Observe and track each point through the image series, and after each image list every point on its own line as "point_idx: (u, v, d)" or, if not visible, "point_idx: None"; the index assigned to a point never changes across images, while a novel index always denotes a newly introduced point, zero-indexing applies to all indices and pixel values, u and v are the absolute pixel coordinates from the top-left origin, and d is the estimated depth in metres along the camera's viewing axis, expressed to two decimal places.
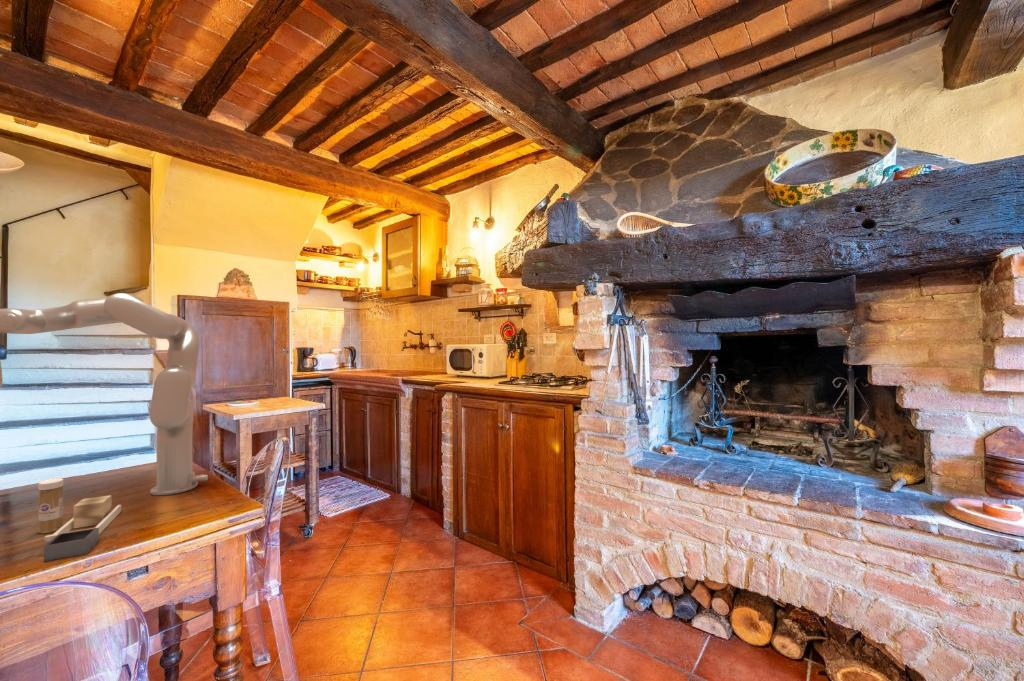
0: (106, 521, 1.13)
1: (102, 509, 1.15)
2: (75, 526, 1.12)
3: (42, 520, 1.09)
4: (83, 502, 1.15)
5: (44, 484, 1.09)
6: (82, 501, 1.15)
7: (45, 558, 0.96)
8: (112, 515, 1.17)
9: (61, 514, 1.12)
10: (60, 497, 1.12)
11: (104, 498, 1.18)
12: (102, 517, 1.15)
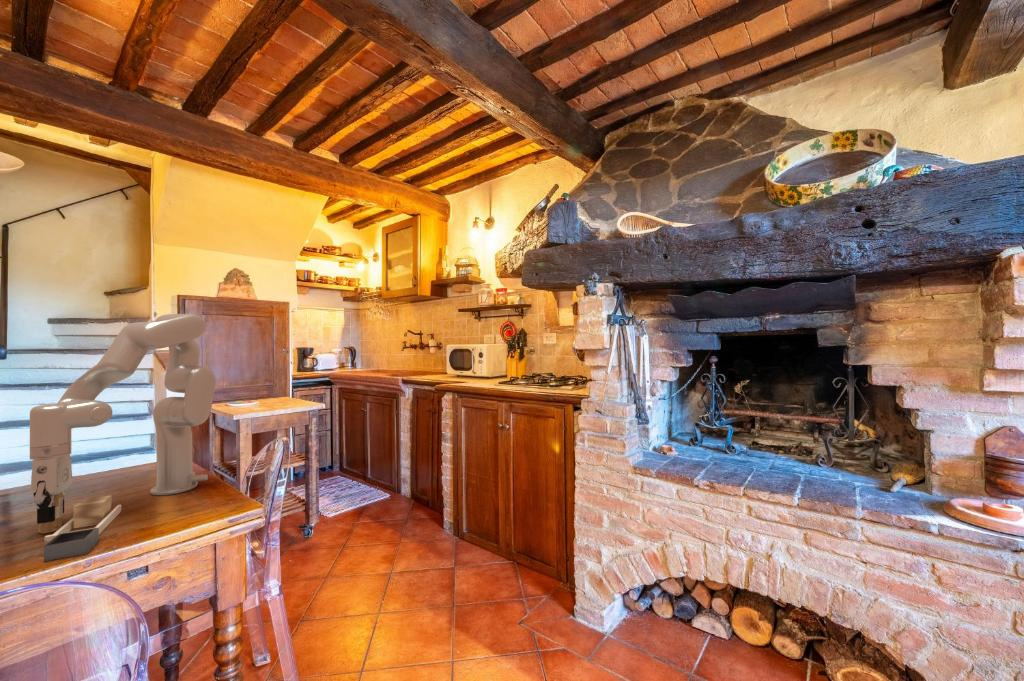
0: (106, 521, 1.13)
1: (102, 509, 1.15)
2: (75, 526, 1.12)
3: None
4: (83, 502, 1.15)
5: None
6: (82, 501, 1.15)
7: (45, 558, 0.96)
8: (112, 515, 1.17)
9: (61, 514, 1.12)
10: (60, 497, 1.12)
11: (104, 498, 1.18)
12: (102, 517, 1.15)
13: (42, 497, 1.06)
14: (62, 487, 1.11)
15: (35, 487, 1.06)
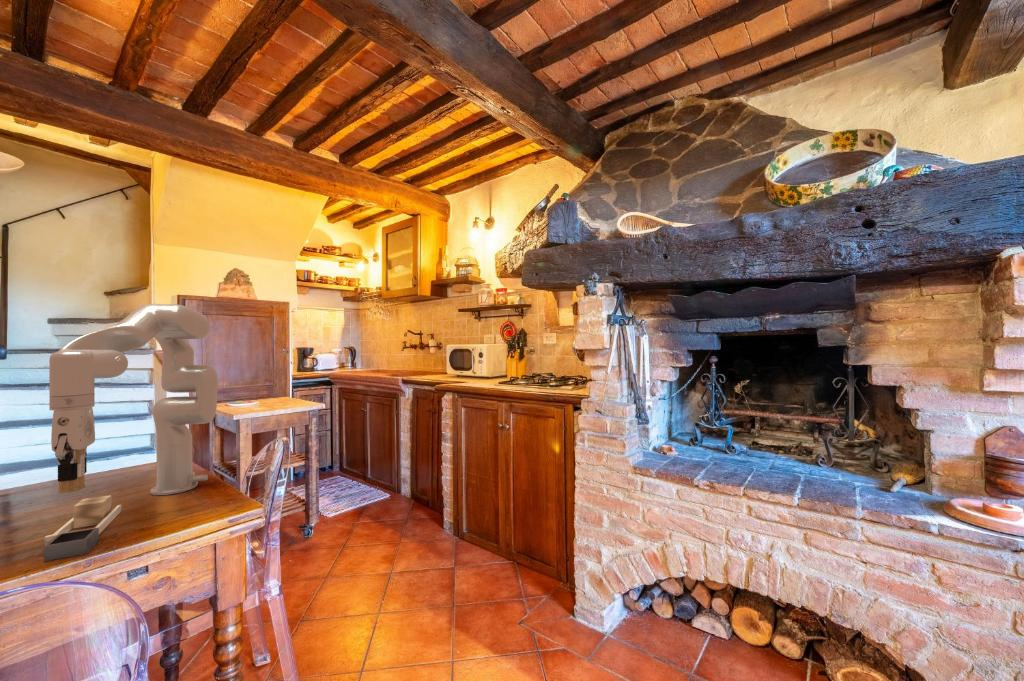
0: (106, 521, 1.13)
1: (102, 509, 1.15)
2: (75, 526, 1.12)
3: None
4: (83, 502, 1.15)
5: None
6: (82, 501, 1.15)
7: (45, 558, 0.96)
8: (112, 515, 1.17)
9: (83, 473, 1.01)
10: (82, 454, 1.01)
11: (104, 498, 1.18)
12: (102, 517, 1.15)
13: (64, 451, 0.95)
14: (85, 442, 1.00)
15: (56, 440, 0.95)
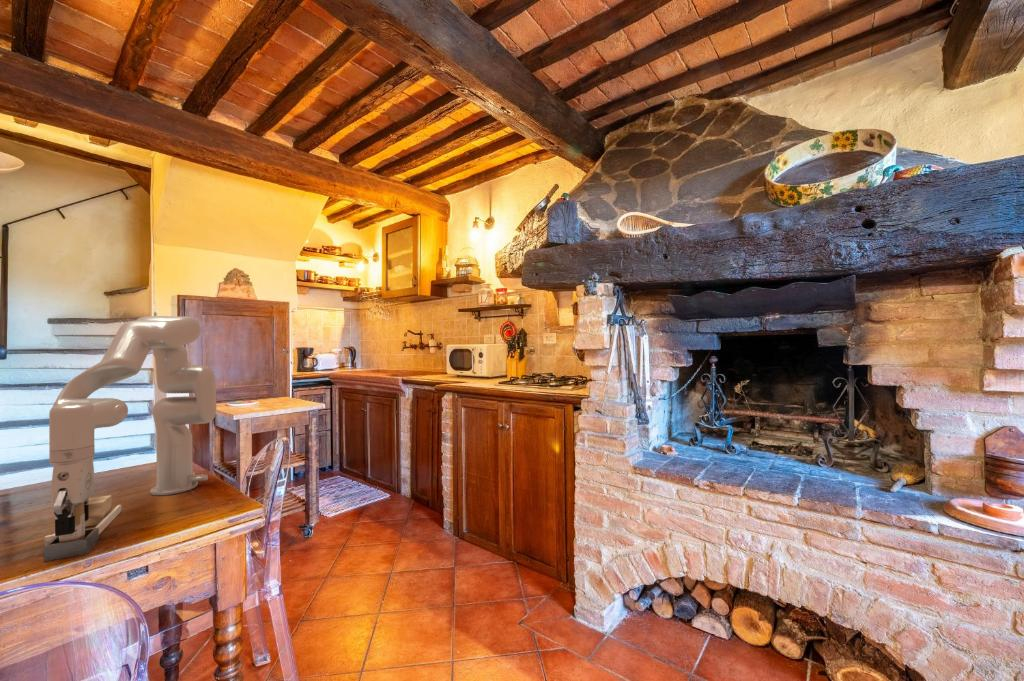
0: (106, 521, 1.13)
1: (102, 509, 1.15)
2: None
3: (63, 540, 0.98)
4: None
5: None
6: None
7: (45, 558, 0.96)
8: (112, 515, 1.17)
9: (83, 532, 1.01)
10: (82, 514, 1.01)
11: (104, 498, 1.18)
12: (102, 517, 1.15)
13: (62, 504, 0.94)
14: (85, 495, 1.00)
15: (56, 495, 0.95)
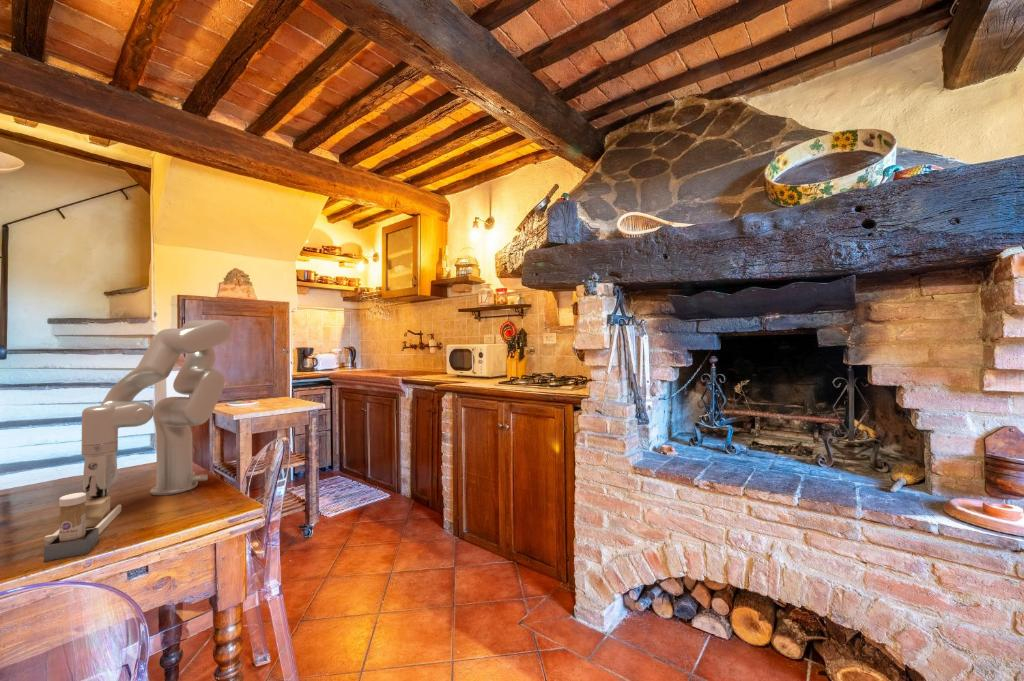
0: (106, 521, 1.13)
1: (100, 510, 1.14)
2: None
3: (63, 540, 0.98)
4: None
5: (65, 500, 0.98)
6: None
7: (45, 558, 0.96)
8: (112, 515, 1.17)
9: (84, 532, 1.01)
10: (83, 514, 1.01)
11: (103, 499, 1.17)
12: (101, 518, 1.14)
13: (95, 492, 1.17)
14: (110, 482, 1.20)
15: (87, 482, 1.16)
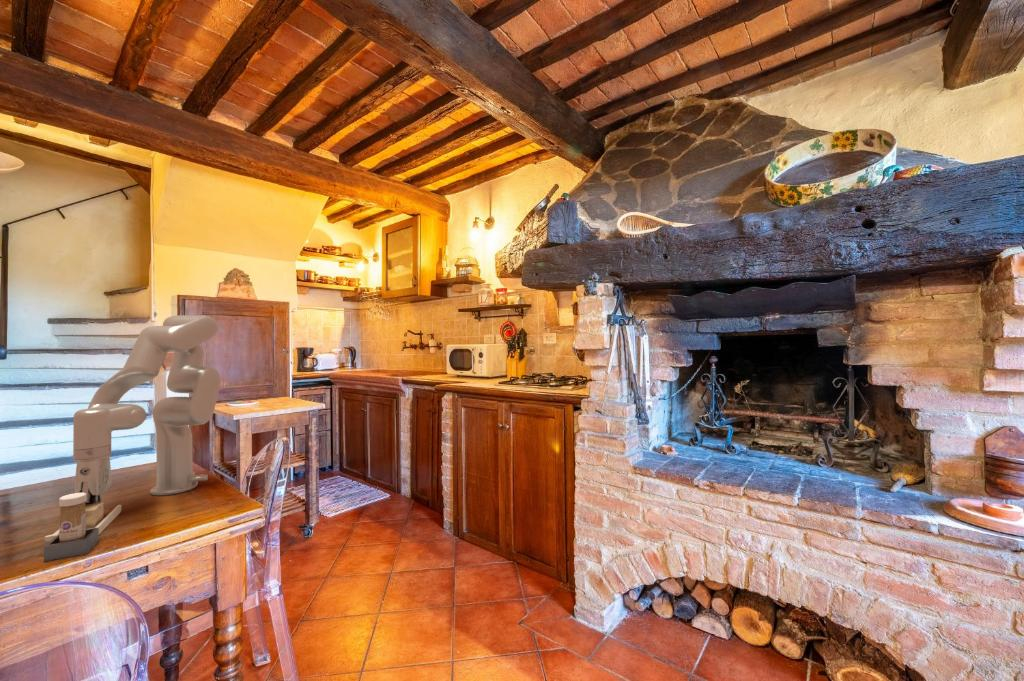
0: (106, 521, 1.13)
1: (93, 517, 1.09)
2: None
3: (63, 540, 0.98)
4: None
5: (65, 500, 0.98)
6: None
7: (45, 558, 0.96)
8: (112, 515, 1.17)
9: (84, 532, 1.01)
10: (83, 514, 1.01)
11: (95, 505, 1.13)
12: (93, 526, 1.09)
13: (88, 498, 1.12)
14: (103, 488, 1.16)
15: (79, 488, 1.11)
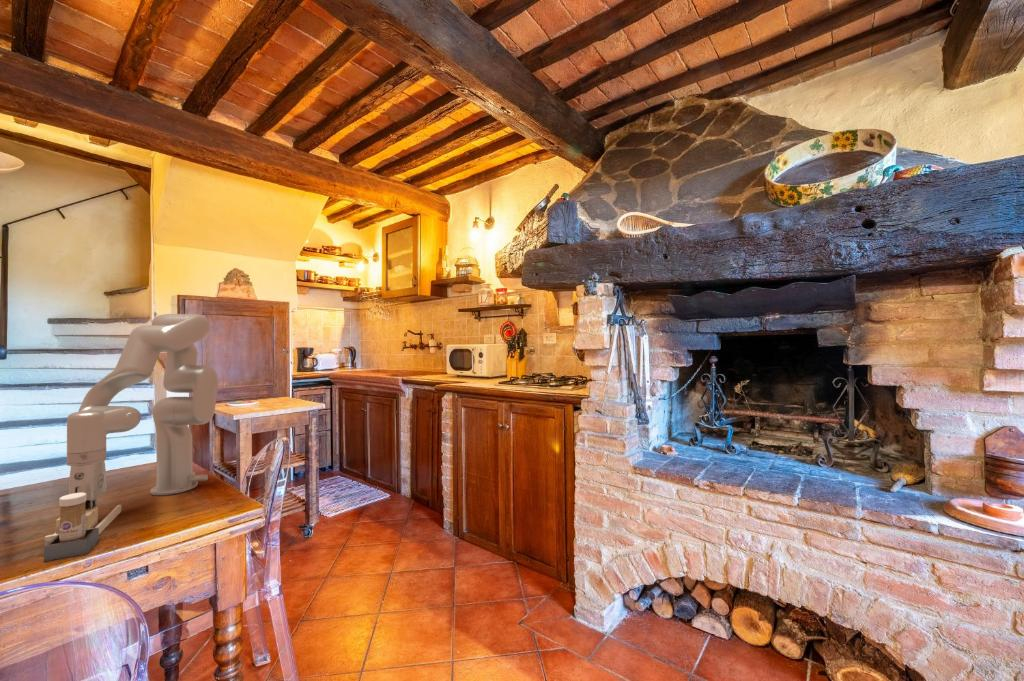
0: (106, 521, 1.13)
1: (86, 523, 1.06)
2: None
3: (63, 540, 0.98)
4: None
5: (66, 500, 0.98)
6: None
7: (45, 558, 0.96)
8: (112, 515, 1.17)
9: (84, 532, 1.01)
10: (83, 514, 1.01)
11: (89, 510, 1.09)
12: None
13: None
14: (98, 493, 1.12)
15: None
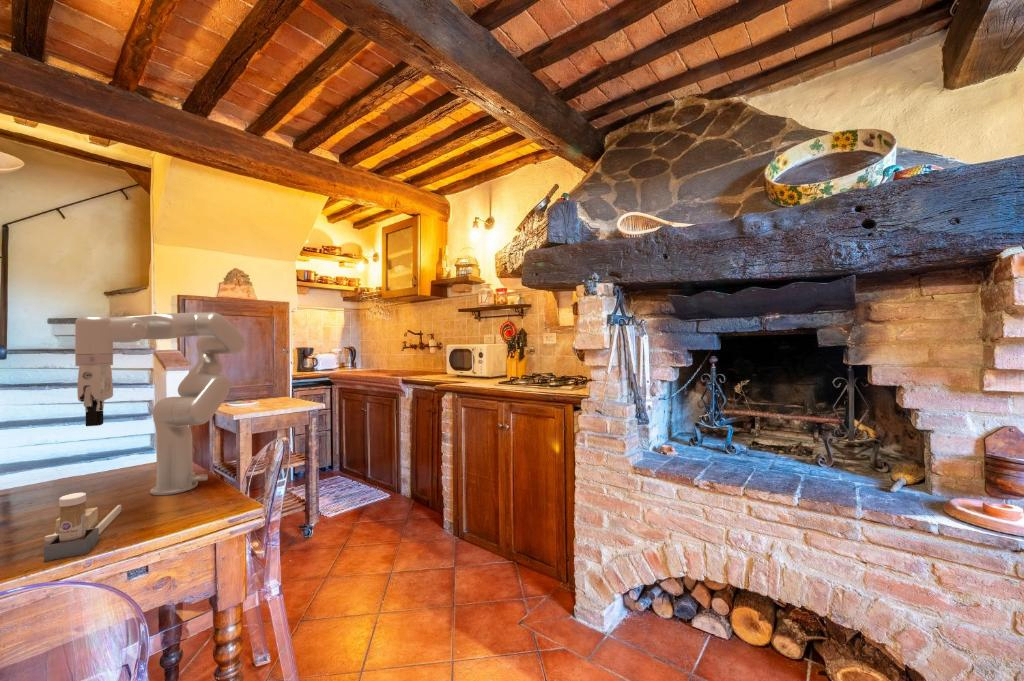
0: (106, 521, 1.13)
1: (86, 523, 1.06)
2: None
3: (63, 540, 0.98)
4: None
5: (65, 500, 0.98)
6: None
7: (45, 558, 0.96)
8: (112, 515, 1.17)
9: (84, 532, 1.01)
10: (83, 514, 1.01)
11: (89, 510, 1.09)
12: None
13: (90, 402, 1.13)
14: (105, 395, 1.17)
15: (81, 391, 1.12)
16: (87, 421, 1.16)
